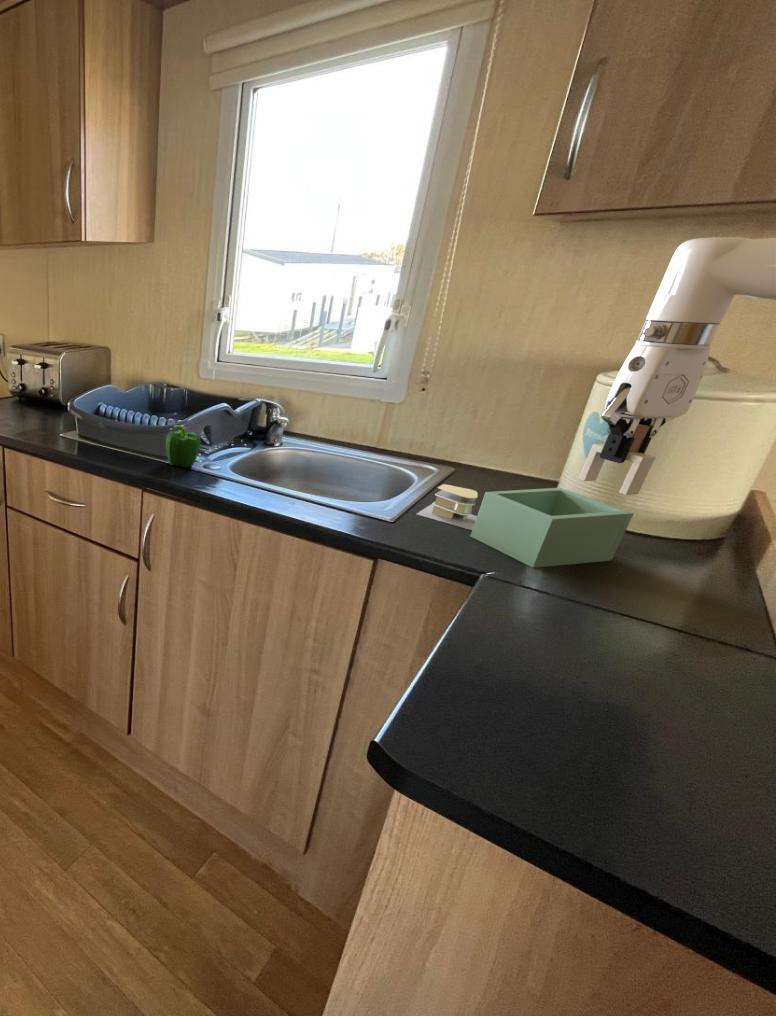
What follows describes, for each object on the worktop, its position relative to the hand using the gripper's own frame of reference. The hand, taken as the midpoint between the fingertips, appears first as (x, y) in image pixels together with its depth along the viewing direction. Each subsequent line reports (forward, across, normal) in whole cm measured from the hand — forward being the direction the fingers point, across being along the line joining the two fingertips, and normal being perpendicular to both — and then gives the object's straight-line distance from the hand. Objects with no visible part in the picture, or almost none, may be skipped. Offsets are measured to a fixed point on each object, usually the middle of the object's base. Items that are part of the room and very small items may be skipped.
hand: (619, 459), depth 85 cm
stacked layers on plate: (+19, -5, +21) cm, 28 cm away
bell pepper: (+19, -47, +61) cm, 79 cm away
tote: (+18, -1, +6) cm, 19 cm away
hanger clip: (+5, 0, 0) cm, 5 cm away
